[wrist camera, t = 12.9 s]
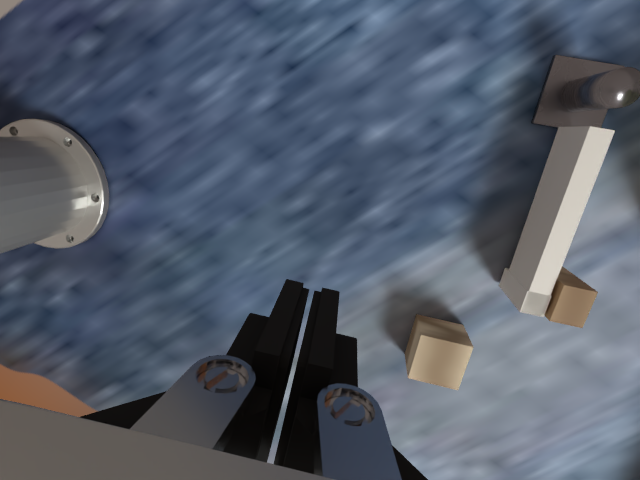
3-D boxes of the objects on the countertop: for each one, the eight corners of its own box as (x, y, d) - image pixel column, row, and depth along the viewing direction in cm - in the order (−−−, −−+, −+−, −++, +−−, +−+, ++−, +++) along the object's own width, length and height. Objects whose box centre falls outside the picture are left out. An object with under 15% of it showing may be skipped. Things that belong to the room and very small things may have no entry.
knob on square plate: (531, 122, 31) (567, 121, 25) (553, 55, 29) (597, 37, 23) (595, 134, 30) (647, 135, 24) (621, 66, 29) (682, 51, 23)
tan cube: (404, 353, 38) (408, 377, 34) (416, 313, 37) (421, 334, 33) (449, 363, 38) (458, 390, 34) (462, 324, 36) (473, 347, 32)
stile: (517, 288, 34) (546, 320, 29) (528, 258, 34) (560, 284, 28) (547, 295, 34) (582, 328, 29) (559, 264, 33) (597, 292, 28)
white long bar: (552, 126, 30) (588, 125, 25) (575, 130, 30) (616, 130, 25) (498, 285, 34) (519, 312, 29) (518, 289, 34) (543, 317, 29)
